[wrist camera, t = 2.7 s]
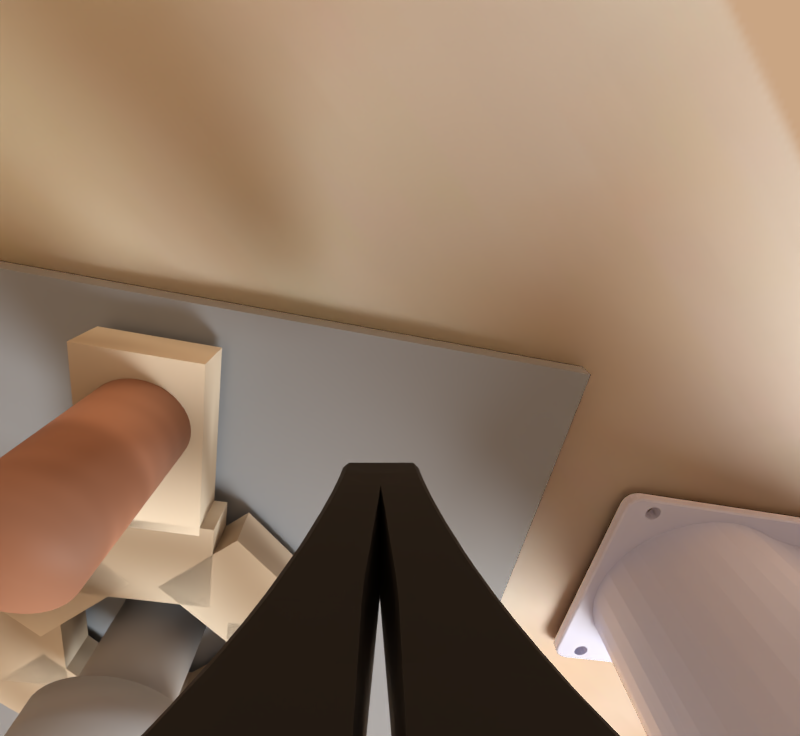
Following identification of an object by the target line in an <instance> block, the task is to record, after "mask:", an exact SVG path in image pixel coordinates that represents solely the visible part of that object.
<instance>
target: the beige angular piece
mask: <svg viewBox="0 0 800 736" xmlns="http://www.w3.org/2000/svg"><path fill="white" fill-rule="evenodd" d="M67 350H68V361H69V371H70V382H71V393H72V404H73V406H72V407H71V408H69V409H68V410H66V411H65V412H64V413H62V414H61V415H59V416H58V417H57V418H55V419H54V420H52V421H51V422H50V423H48V424H47V425H45V426H44V427H43V428H41V429H40V430H38V431H37V432H36V433H34V434H33V435H31V436H30V437H29V438H27V439H26V440H24V441H23V442H22V443H20V444H19V445H17V446H16V447H15V448H13V449H12V450H10V451H9V452H8V453H6V454H5V455H3V456H2V457H1V458H0V703H2V704H3V705H5V706H7V707H8V708H10V709H12V710H14V711H15V712H17V713H20V712H21V710H22V709H23V708H24V706H25V705H26V703H27V702H28V700H29V699H30V697H31V696H32V695H33V694H34V693H35V692H36V691H37V690H39V689H40V688H42V687H43V686H45V685H47V684H49V683H52V682H54V681H57V680H60V679H65V678H69V677H76V676H79V674H80V673H81V671H82V669H83V668H84V666H85V665H86V663H87V661H88V660H89V658H90V657H91V655H92V653H93V652H94V650H95V649H96V647H97V645H98V644H99V642H97V641H96V640H94V639H93V638H91V637H90V636H89V635H88V629H87V619H86V609H88V608H89V607H91V606H93V605H94V604H96V603H98V602H99V601H101V600H103V599H104V598H106V597H108V596H109V597H118V598H127V599H136V600H145V601H154V602H163V603H172V604H180V605H181V606H182V607H184V608H185V609H186V610H187V611H189V612H190V613H191V614H192V615H194V616H195V617H196V618H197V619H199V620H200V621H201V622H202V623H204V624H205V625H206V626H207V627H209V628H210V629H211V630H212V631H214V632H215V633H216V634H217V635H219V636H220V637H221V638H222V639H224V640H225V641H226V642H227V641H228V640H229V638H230V637H231V636H232V635H233V634H234V632H235V631H236V630H237V629H238V628H239V626H240V625H241V624H242V623H243V622H244V620H245V619H246V618H247V617H248V615H249V614H250V613H251V612H252V610H253V609H254V608H255V606H256V605H257V604H258V603H259V601H260V600H261V599H262V597H263V596H264V595H265V594H266V592H267V591H268V590H269V588H270V587H271V585H272V584H273V583H274V581H275V580H276V578H277V577H278V576H279V574H280V573H281V571H282V570H283V569H284V567H285V566H286V564H287V563H288V562H289V560H290V559H291V557H292V556H293V555H292V554H291V553H290V552H289V551H288V550H287V549H286V548H285V547H284V546H283V545H282V544H281V543H280V542H279V541H278V540H277V539H276V538H275V537H274V536H273V535H272V534H271V533H270V532H269V531H268V530H267V529H266V528H264V527H263V526H262V525H261V524H260V523H259V522H258V521H257V520H256V519H255V518H254V517H253V516H252V515H251V514H250V513H247V514H245V515H244V516H242V517H240V518H239V519H237V520H235V521H234V522H232V523H230V524H229V525H227V526H226V516H227V502H221V501H214V498H215V478H216V458H217V438H218V418H219V398H220V378H221V358H222V348H221V347H216V346H210V345H204V344H198V343H192V342H186V341H180V340H175V339H169V338H163V337H157V336H151V335H145V334H140V333H134V332H128V331H122V330H116V329H110V328H104V327H99V326H97V327H95V328H93V329H91V330H89V331H87V332H85V333H83V334H81V335H79V336H77V337H75V338H73V339H71V340H69V341H67ZM205 666H206V665H205ZM205 666H203V667H201V668H199V669H197V670H195V671H193V672H188V674H187V676H186V679H185V681H184V684H183V686H182V689H181V691H180V694H181V693H182V692H183V690H184V689H185V688H186V687H187V686H188V685H189V684H190V683H191V682H192V680H193V679H194V678H195V677H196V676H197V675H198V674H199V673H200V672H201V670H202V669H203V668H204V667H205ZM180 694H179V695H180Z"/></svg>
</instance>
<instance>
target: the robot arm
mask: <svg viewBox="0 0 800 736" xmlns="http://www.w3.org/2000/svg"><path fill="white" fill-rule="evenodd" d="M651 508H652V509H651ZM649 509H651V510H650V511H648V510H649ZM647 511H648V512H647ZM379 602H380V607H381V619H382V631H383V643H384V655H385V667H386V679H387V691H388V703H389V714H390V726H391V736H620V735H619V734H618V733H617V732H616V731H615V730H614V729H613V728H612V727H611V726H610V725H609V724H608V723H607V722H606V721H605V720H604V719H603V718H602V717H601V716H600V715H599V714H598V713H597V712H596V711H595V710H594V709H593V708H592V707H591V706H590V705H589V704H588V703H587V702H586V701H585V700H584V698H583V697H582V696H581V695H580V694H579V693H578V692H577V691H576V690H575V689H574V688H573V687H572V686H571V685H570V683H569V682H568V681H567V680H566V679H565V678H564V677H563V676H562V674H561V673H560V672H559V671H558V670H557V669H556V668H555V667H554V665H553V664H552V663H551V662H550V661H549V660H548V659H547V657H546V656H545V655H544V654H543V653H542V652H541V651H540V650H539V648H538V647H537V646H536V645H535V644H534V642H533V641H532V640H531V639H530V638H529V636H528V635H527V634H526V633H525V632H524V630H523V629H522V628H521V627H520V626H519V624H518V623H517V622H516V621H515V619H514V618H513V617H512V616H511V614H510V613H509V612H508V611H507V609H506V608H505V607H504V605H503V604H502V603H501V602H500V600H499V599H498V598H497V596H496V595H495V594H494V592H493V591H492V590H491V588H490V587H489V585H488V584H487V583H486V581H485V580H484V579H483V577H482V576H481V574H480V573H479V572H478V570H477V569H476V567H475V566H474V565H473V563H472V562H471V560H470V559H469V557H468V556H467V554H466V553H465V551H464V550H463V548H462V547H461V545H460V543H459V542H458V540H457V539H456V537H455V536H454V534H453V532H452V531H451V529H450V528H449V526H448V524H447V523H446V521H445V519H444V518H443V516H442V514H441V513H440V511H439V509H438V507H437V505H436V504H435V502H434V500H433V498H432V496H431V494H430V492H429V490H428V488H427V486H426V484H425V482H424V480H423V478H422V475H421V473H420V470H419V468H418V467H417V466H416V465H415V464H414V463H348V464H347V465H345V466H344V467H343V469H342V471H341V474H340V476H339V478H338V481H337V483H336V485H335V487H334V489H333V491H332V493H331V495H330V496H329V498H328V500H327V502H326V504H325V505H324V507H323V509H322V511H321V512H320V514H319V516H318V517H317V519H316V520H315V522H314V524H313V525H312V527H311V528H310V530H309V532H308V533H307V535H306V537H305V538H304V540H303V541H302V543H301V544H300V546H299V547H298V549H297V550H296V552H295V553H294V555H293V556H292V557H291V559H290V560H289V562H288V563H287V564H286V566H285V567H284V569H283V570H282V571H281V573H280V574H279V576H278V577H277V578H276V580H275V581H274V583H273V584H272V585H271V587H270V588H269V590H268V591H267V592H266V594H265V595H264V596H263V597H262V599H261V600H260V601H259V603H258V604H257V605H256V606H255V608H254V609H253V610H252V612H251V613H250V614H249V615H248V617H247V618H246V619H245V620H244V622H243V623H242V624H241V625H240V626H239V628H238V629H237V630H236V631H235V632H234V634H233V635H232V636H231V637H230V638H229V640H228V641H227V642H226V643H225V644H224V646H223V647H222V648H221V649H220V650H219V651H218V653H217V654H216V655H215V656H214V657H213V658H212V659H211V661H210V662H209V663H208V664H207V665H206V666H205V667H204V668H203V669H202V670H201V672H200V673H199V674H198V675H197V676H196V677H195V678H194V679H193V680H192V682H191V683H190V684H189V685H188V686H187V687H186V688H185V689H184V690H183V692H182V693H181V694H180V695H179V696H178V697H177V698H176V699H175V700H174V702H173V703H172V704H171V705H170V706H169V707H168V708H167V709H166V710H165V711H164V712H163V713H162V714H161V715H160V716H159V717H158V719H157V720H156V721H155V722H154V723H153V724H152V725H151V726H150V727H149V728H148V729H147V730H146V731H145V732H144V733H143V734H142V735H141V736H366V735H367V725H368V715H369V705H370V695H371V684H372V674H373V664H374V654H375V644H376V633H377V623H378V613H379ZM554 646H555V648H556V651H557V653H558V654H559V655H560V656H564V657H571V658H580V659H589V660H598V661H608V662H613V664H614V667H615V669H616V671H617V673H618V675H619V677H620V679H621V681H622V683H623V686H624V688H625V690H626V692H627V694H628V696H629V698H630V700H631V702H632V705H633V707H634V709H635V711H636V713H637V715H638V717H639V719H640V721H641V723H642V726H643V728H644V730H645V732H646V734H647V736H800V517H794V516H787V515H780V514H774V513H767V512H761V511H754V510H748V509H741V508H734V507H728V506H721V505H715V504H708V503H701V502H695V501H688V500H682V499H675V498H669V497H662V496H655V495H649V494H642V493H633V494H630V495H628V496H627V497H625V498H624V499H623V500H622V502H621V503H620V505H619V507H618V509H617V511H616V514H615V516H614V518H613V520H612V522H611V524H610V526H609V528H608V530H607V532H606V534H605V536H604V538H603V540H602V542H601V544H600V546H599V549H598V551H597V553H596V555H595V557H594V559H593V561H592V563H591V565H590V567H589V569H588V571H587V573H586V575H585V577H584V579H583V581H582V584H581V586H580V588H579V590H578V592H577V594H576V596H575V598H574V600H573V602H572V604H571V606H570V608H569V610H568V612H567V614H566V616H565V619H564V621H563V623H562V625H561V627H560V629H559V631H558V633H557V635H556V637H555V639H554Z"/></svg>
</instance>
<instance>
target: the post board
mask: <svg viewBox="0 0 800 736" xmlns="http://www.w3.org/2000/svg"><path fill="white" fill-rule="evenodd" d="M97 326H99V327H104V328H110V329H116V330H122V331H128V332H134V333H140V334H145V335H151V336H157V337H163V338H169V339H175V340H180V341H186V342H192V343H198V344H204V345H210V346H216V347H221V348H222V358H221V378H220V398H219V418H218V438H217V458H216V478H215V498H214V501H221V502H227V516H226V526H227V525H229V524H230V523H232V522H234V521H235V520H237V519H239V518H240V517H242V516H244V515H245V514H247V513H250V514H251V515H252V516H253V517H254V518H255V519H256V520H257V521H258V522H259V523H260V524H261V525H262V526H263V527H264V528H266V529H267V530H268V531H269V532H270V533H271V534H272V535H273V536H274V537H275V538H276V539H277V540H278V541H279V542H280V543H281V544H282V545H283V546H284V547H285V548H286V549H287V550H288V551H289V552H290V553H291V554H292V555H294V553H295V552H296V550H297V549H298V547H299V546H300V544H301V543H302V541H303V540H304V538H305V537H306V535H307V533H308V532H309V530H310V528H311V527H312V525H313V524H314V522H315V520H316V519H317V517H318V516H319V514H320V512H321V511H322V509H323V507H324V505H325V504H326V502H327V500H328V498H329V496H330V495H331V493H332V491H333V489H334V487H335V485H336V483H337V481H338V478H339V476H340V474H341V471H342V469H343V467H344V466H345V465H347V464H348V463H414V464H415V465H416V466H417V467H418V468H419V470H420V473H421V475H422V478H423V480H424V482H425V484H426V486H427V488H428V490H429V492H430V494H431V496H432V498H433V500H434V502H435V504H436V505H437V507H438V509H439V511H440V513H441V514H442V516H443V518H444V519H445V521H446V523H447V524H448V526H449V528H450V529H451V531H452V532H453V534H454V536H455V537H456V539H457V540H458V542H459V543H460V545H461V547H462V548H463V550H464V551H465V553H466V554H467V556H468V557H469V559H470V560H471V562H472V563H473V565H474V566H475V567H476V569H477V570H478V572H479V573H480V574H481V576H482V577H483V579H484V580H485V581H486V583H487V584H488V585H489V587H490V588H491V590H492V591H493V592H494V594H495V595H496V596H497V598H498V599H499V600H500V601H501V598H502V596H503V593H504V591H505V588H506V586H507V583H508V581H509V578H510V576H511V573H512V571H513V568H514V566H515V563H516V561H517V558H518V556H519V553H520V551H521V548H522V546H523V543H524V541H525V538H526V536H527V533H528V531H529V528H530V526H531V523H532V521H533V518H534V516H535V513H536V511H537V508H538V506H539V503H540V501H541V498H542V496H543V493H544V491H545V488H546V486H547V483H548V481H549V478H550V476H551V473H552V471H553V468H554V466H555V463H556V461H557V458H558V456H559V453H560V451H561V448H562V446H563V443H564V440H565V438H566V435H567V433H568V430H569V428H570V425H571V423H572V420H573V418H574V415H575V413H576V410H577V408H578V405H579V403H580V400H581V398H582V395H583V393H584V390H585V388H586V385H587V383H588V380H589V378H590V375H591V374H589V373H588V372H587V371H586V370H585V369H584V368H583V367H581V366H575V365H570V364H564V363H559V362H553V361H548V360H542V359H537V358H531V357H526V356H520V355H515V354H509V353H504V352H498V351H493V350H487V349H482V348H476V347H471V346H465V345H460V344H454V343H449V342H443V341H438V340H432V339H427V338H421V337H416V336H410V335H405V334H399V333H394V332H388V331H383V330H377V329H372V328H366V327H361V326H355V325H350V324H344V323H339V322H333V321H328V320H322V319H317V318H311V317H306V316H300V315H295V314H289V313H284V312H278V311H273V310H267V309H262V308H256V307H251V306H245V305H240V304H234V303H229V302H223V301H218V300H212V299H207V298H201V297H196V296H190V295H185V294H179V293H174V292H168V291H163V290H157V289H152V288H146V287H141V286H135V285H130V284H124V283H119V282H113V281H108V280H102V279H97V278H91V277H86V276H80V275H75V274H69V273H64V272H58V271H53V270H47V269H42V268H36V267H31V266H25V265H20V264H14V263H9V262H3V261H0V458H1V457H2V456H3V455H5V454H6V453H8V452H9V451H10V450H12V449H13V448H15V447H16V446H17V445H19V444H20V443H22V442H23V441H24V440H26V439H27V438H29V437H30V436H31V435H33V434H34V433H36V432H37V431H38V430H40V429H41V428H43V427H44V426H45V425H47V424H48V423H50V422H51V421H52V420H54V419H55V418H57V417H58V416H59V415H61V414H62V413H64V412H65V411H66V410H68V409H69V408H71V407H72V406H73V404H72V393H71V382H70V371H69V361H68V350H67V341H69V340H71V339H73V338H75V337H77V336H79V335H81V334H83V333H85V332H87V331H89V330H91V329H93V328H95V327H97ZM86 619H87V629H88V635H89V636H90V637H91V638H93V639H94V640H96V641H97V642H99V644H98V645H97V647H96V649H95V650H94V652H93V653H92V655H91V657H90V658H89V660H88V661H87V663H86V665H85V666H84V668H83V669H82V671H81V673H80V674H79V676H76V677H69V678H65V679H60V680H57V681H54V682H52V683H49V684H47V685H45V686H43V687H42V688H40V689H39V690H37V691H36V692H35V693H34V694H33V695H32V696H31V697H30V699H29V700H28V702H27V703H26V705H25V706H24V708H23V709H22V710H21V712H20V713H17V712H15V711H14V710H12V709H10V708H8V707H7V706H5V705H3V704H2V703H0V736H141V735H142V734H143V733H144V732H145V731H146V730H147V729H148V728H149V727H150V726H151V725H152V724H153V723H154V722H155V721H156V720H157V719H158V717H159V716H160V715H161V714H162V713H163V712H164V711H165V710H166V709H167V708H168V707H169V706H170V705H171V704H172V703H173V702H174V700H175V699H176V698H177V697H178V696H179V694H180V691H181V689H182V686H183V684H184V681H185V679H186V676H187V674H188V672H193V671H195V670H197V669H199V668H201V667H203V666H205V665H207V664H208V663H209V662H210V661H211V659H212V658H213V657H214V656H215V655H216V654H217V653H218V651H219V650H220V649H221V648H222V647H223V646H224V644H225V643H226V641H225V640H224V639H222V638H221V637H220V636H219V635H217V634H216V633H215V632H214V631H212V630H211V629H210V628H209V627H207V626H206V625H205V624H204V623H202V622H201V621H200V620H199V619H197V618H196V617H195V616H194V615H192V614H191V613H190V612H189V611H187V610H186V609H185V608H184V607H182V606H181V605H180V604H172V603H163V602H154V601H145V600H136V599H127V598H118V597H109V596H108V597H106V598H104V599H103V600H101V601H99V602H98V603H96V604H94V605H93V606H91V607H89V608H88V609H86ZM366 736H391V726H390V714H389V703H388V691H387V679H386V667H385V655H384V643H383V631H382V619H381V607H380V602H379V613H378V623H377V633H376V644H375V654H374V664H373V674H372V684H371V695H370V705H369V715H368V725H367V735H366Z"/></svg>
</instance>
